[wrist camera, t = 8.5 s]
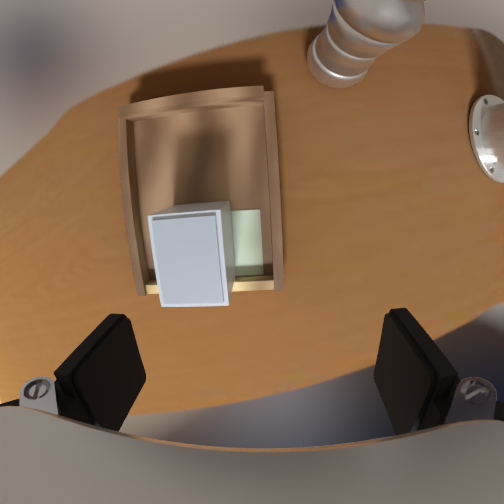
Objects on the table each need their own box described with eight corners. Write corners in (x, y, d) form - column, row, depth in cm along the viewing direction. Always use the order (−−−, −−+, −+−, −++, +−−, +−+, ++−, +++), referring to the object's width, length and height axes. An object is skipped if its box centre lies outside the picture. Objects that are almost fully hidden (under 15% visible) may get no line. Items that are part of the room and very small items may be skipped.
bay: (272, 98, 28) (274, 85, 23) (281, 280, 33) (285, 298, 28) (128, 116, 28) (108, 109, 23) (146, 285, 33) (130, 302, 29)
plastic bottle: (290, 64, 26) (328, -56, 7) (330, 33, 25) (394, -77, 6) (333, 104, 28) (429, 25, 8) (371, 71, 26) (475, -8, 7)
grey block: (229, 200, 29) (219, 209, 22) (235, 275, 32) (228, 306, 24) (173, 205, 30) (146, 216, 22) (181, 277, 32) (160, 308, 24)
